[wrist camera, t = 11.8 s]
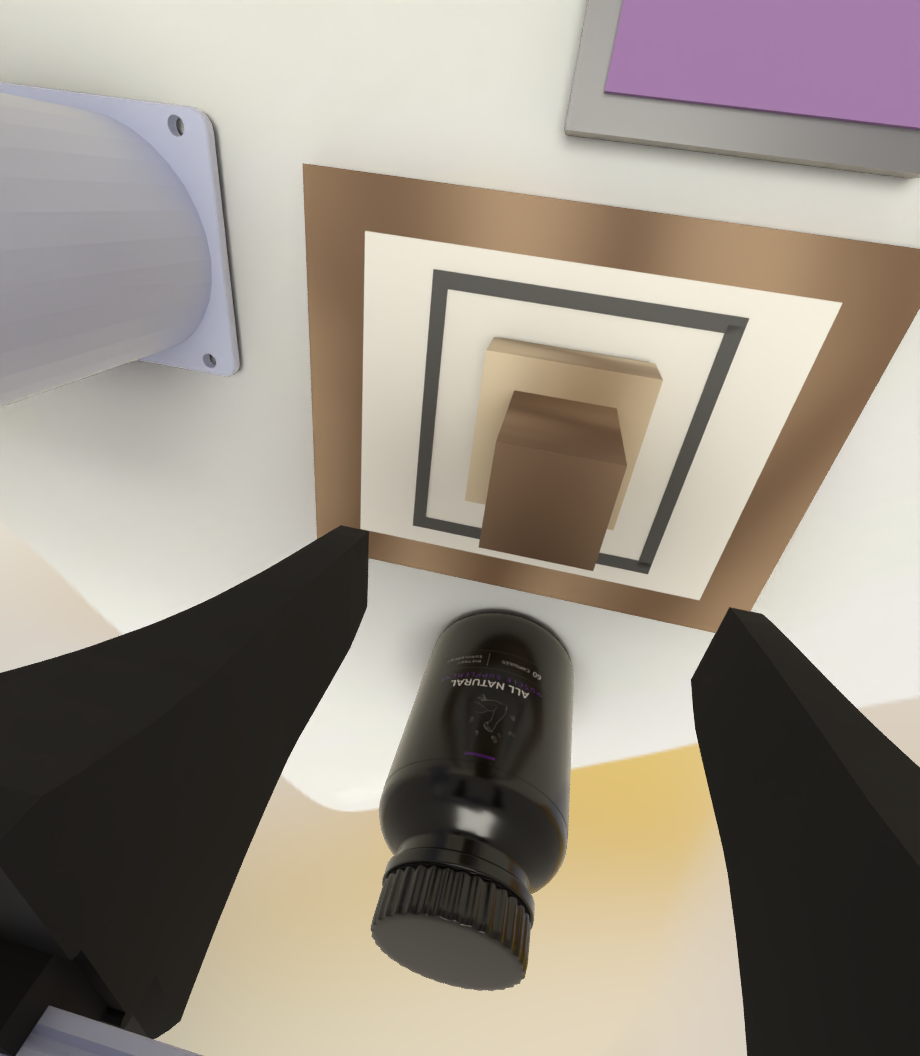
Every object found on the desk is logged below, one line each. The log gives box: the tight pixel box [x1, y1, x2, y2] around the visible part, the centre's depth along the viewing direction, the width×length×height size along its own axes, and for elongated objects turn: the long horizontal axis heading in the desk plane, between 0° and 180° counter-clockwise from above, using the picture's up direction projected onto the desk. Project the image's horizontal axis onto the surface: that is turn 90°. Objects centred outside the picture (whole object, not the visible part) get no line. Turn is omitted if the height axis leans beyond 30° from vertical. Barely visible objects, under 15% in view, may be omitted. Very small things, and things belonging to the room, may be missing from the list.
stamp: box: [465, 337, 663, 571], centre depth 15 cm, size 5×5×6 cm
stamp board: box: [303, 164, 920, 633], centre depth 19 cm, size 18×14×1 cm
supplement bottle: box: [371, 613, 573, 991], centre depth 20 cm, size 7×7×12 cm
